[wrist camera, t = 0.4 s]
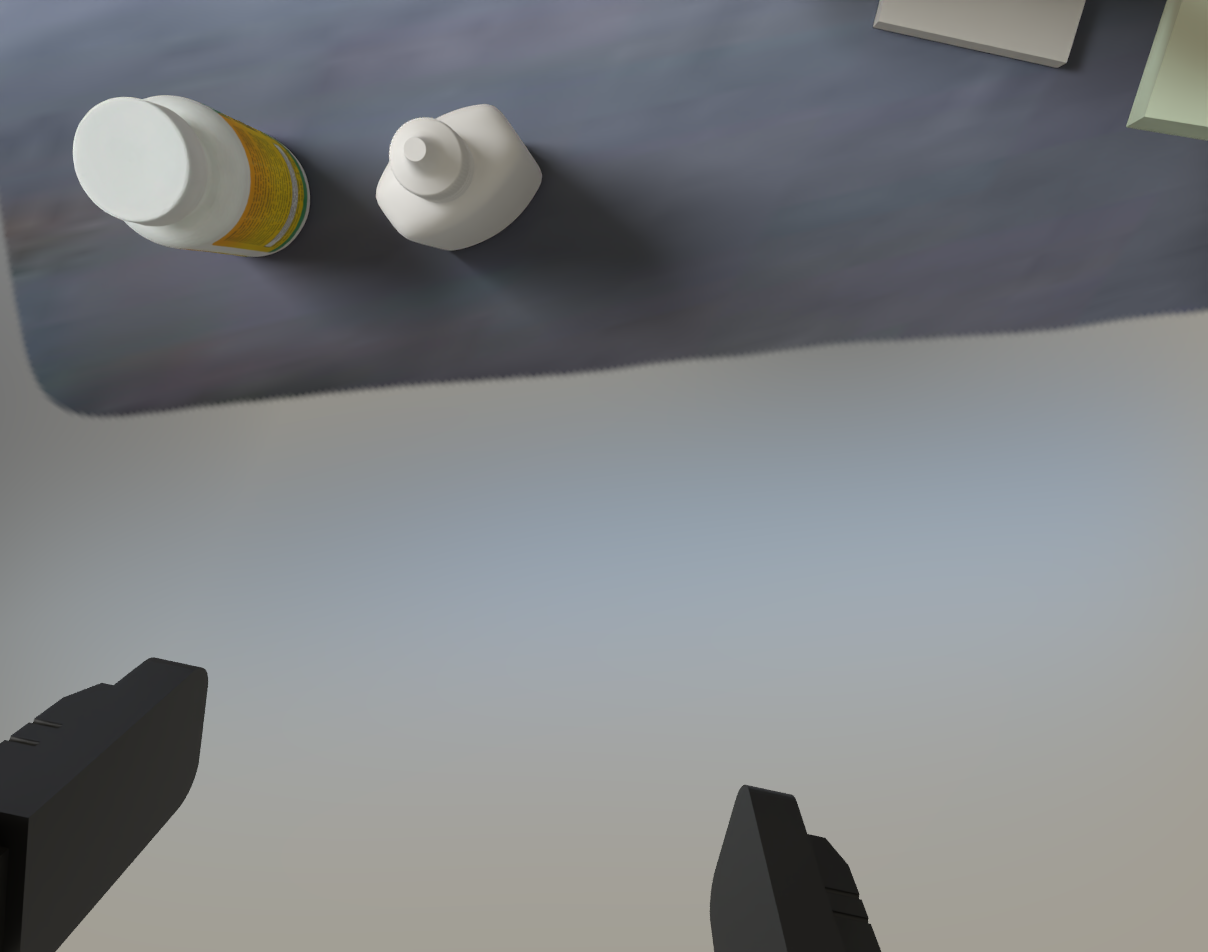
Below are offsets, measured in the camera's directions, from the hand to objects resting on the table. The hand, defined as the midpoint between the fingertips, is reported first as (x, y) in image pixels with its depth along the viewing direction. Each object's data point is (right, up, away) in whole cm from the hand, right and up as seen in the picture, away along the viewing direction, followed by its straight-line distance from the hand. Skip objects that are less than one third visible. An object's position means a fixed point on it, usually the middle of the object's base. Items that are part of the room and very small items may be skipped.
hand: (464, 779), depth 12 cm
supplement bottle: (-14, +17, +25) cm, 33 cm away
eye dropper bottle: (-3, +17, +25) cm, 30 cm away
